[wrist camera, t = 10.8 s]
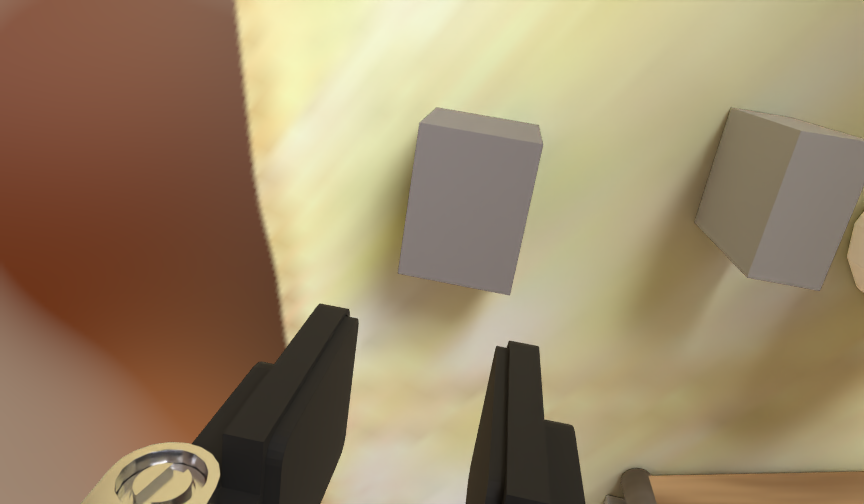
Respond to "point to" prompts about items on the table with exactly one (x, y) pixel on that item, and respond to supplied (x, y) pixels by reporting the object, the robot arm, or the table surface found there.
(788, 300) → the table surface
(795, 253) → the block
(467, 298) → the table surface
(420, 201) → the grey rectangular block
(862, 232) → the white cup
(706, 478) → the door
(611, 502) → the hinge jamb
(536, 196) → the table surface
